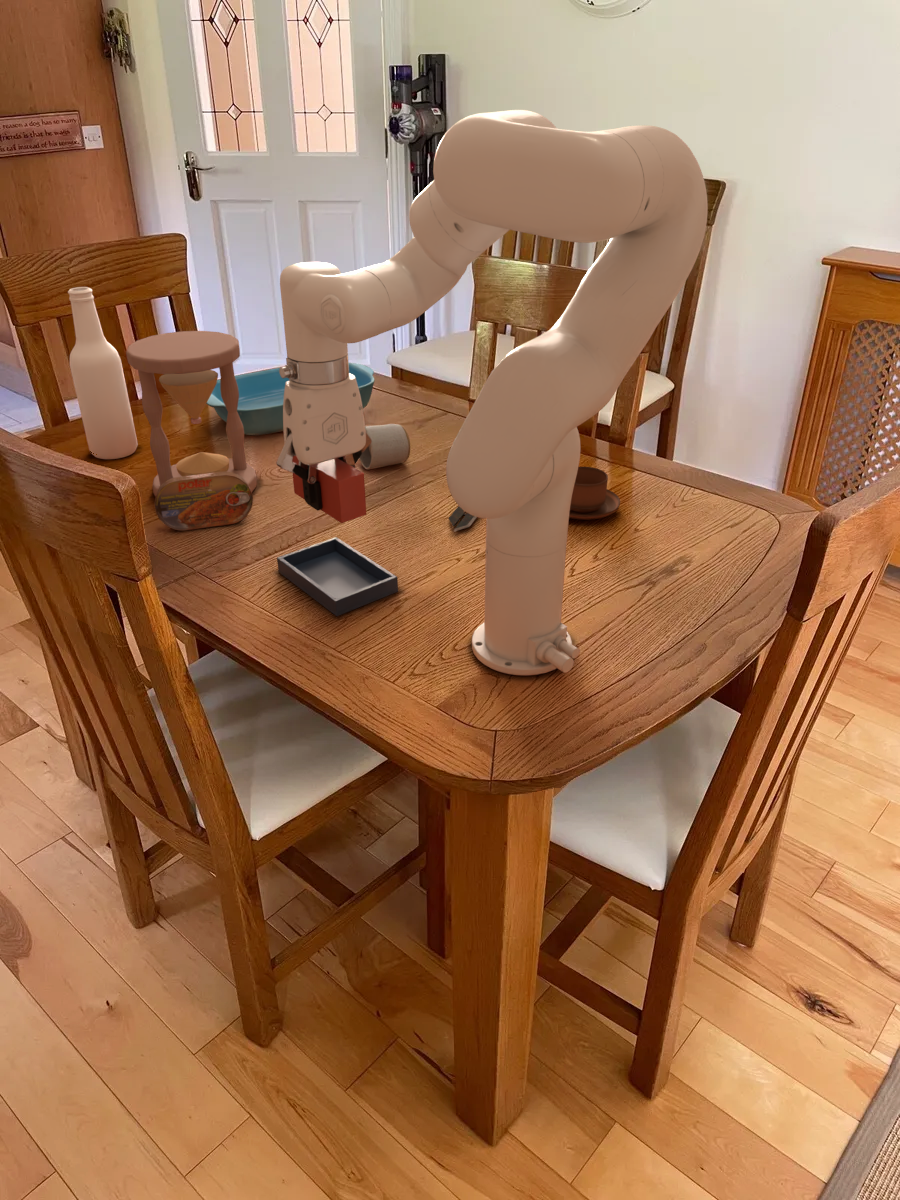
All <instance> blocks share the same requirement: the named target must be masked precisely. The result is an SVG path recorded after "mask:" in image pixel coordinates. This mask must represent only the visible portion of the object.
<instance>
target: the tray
mask: <svg viewBox="0 0 900 1200" xmlns="http://www.w3.org/2000/svg"><path fill="white" fill-rule="evenodd" d="M276 563H277V571H278V573H279V574H281V575H282V576H283V577H284V578H286V579H287V580H288V581H290V582H291V583H292V584H294V585H295V586H296V587H298V588H299V589H300V590H302V592H304V593H306V594H307V595H308V596H310V597H311V598H312V599H313V600H315V601H316V603H318V604H320V605H321V606H322V607H324V608H325V609H327V610H328V611H329V612H330V613H332V614H333V615H334V616H336V617H339V616H341V615H344V614H347V613H349V612H351V611H353V610H355V609H359V608H361V607H363V606H366V605H368V604H371V603H374V602H376V601H379V600H381V599H383V598H386V597H388V596H391V595H393V594H396V593H398V592H399V581H398V580H399V577H398V576H397V575H396V574H394V573H392V572H390V571H389V570H387V569H386V568H385V567H383V566H382V565H380V564H378V563H377V562H376V561H374V560H372V559H371V558H370V557H368V556H366V555H365V554H364V553H361V552H360V551H358V550H357V549H355V548H354V547H352V546H351V545H350V544H348V543H347V542H345V541H343V540H342V539H340V538H339V537H337V536H335V537H332V538H329V539H326V540H324V541H321V542H317V543H315V544H311V545H309V546H306V547H303V548H301V549H297V550H295V551H292V552H289V553H286V554H283V555H281V556H277V557H276Z"/></svg>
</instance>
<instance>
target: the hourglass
mask: <svg viewBox="0 0 900 1200" xmlns="http://www.w3.org/2000/svg"><path fill="white" fill-rule="evenodd" d="M240 349H241V347H240V342H239V339H238V338H236V337H235V336H233V335H232V334H228V333H224V332H220V331H210V330H183V331H174V332H164V333H159V334H155V335H149V336H147V337H144V338H140V339H138V340H135V341H134V342H132V343H131V344H129V345H128V346H127V349H126V352H125V354H126V359H127V363H128V365H130V366H131V367H132V368H133V369H134V370H136V371H137V373H138V378H139V383H140V389H141V404H142V409H143V413H144V415H145V417H146V419H147V421H148V423H149V425H150V427H151V428H150V439H149V444H150V445H149V447H150V451H151V454H152V456H153V459H154V461H155V466H156V472H157V475H156V476H155V477H154V478H153V481H152V491H153V495H154V497H156V494H157V492H158V489H159V488H160V487H161V485H162V484H163V483H165V482H166V481H167V480H169V479H172V478H175V477H182V476H190V475H199V474H207V473H214V472H223V471H227V472H232V473H235V474H237V475H239V476H241V477H242V478H243V479H244V480H245V481H246V482H247V484H248V485H249V487H250V490H251V492H252V493H253V491H254V490H255V489H256V487H257V486H258V480H257V471H256V469H255V468H254V467H253V466H252V465H251V464H250V463H248V462H247V459H246V450H245V434H244V428H243V424H242V422H241V419H240V417H239V415H238V412H237V407H238V400H239V391H238V386H237V382H236V379H235V376H236V375H235V369H234V362H235V361H236V360H238V359H239V358H240V356H241V350H240ZM215 369H219V373H218V372H217V371H215ZM155 374H159V375H161V376H159V379H158V382H159V383H160V385H161V387H162V388H163V389H164V390H165V392H166V393H167V394H168V395H169V396H170V397H171V398H172V399H173V400H174V401H175V402H176V403H177V404H178V406H180V407H181V408H182V409H183V410H184V411H185V412H186V414H187V415H188V416H189V417H190V423H191V425H199V424H201V423H202V417H201V415H202V412H203V410H204V408H205V407H206V405H207V404H206V403H207V401H208V399H209V398H210V396H211V394H212V392H213V390H214V388H215V386H216V384H217V380H219V379H218V378H219V375H220V379H221V380H220V390H221V397H222V399H223V402H224V404H225V406H226V409H227V411H228V416H227V423H225V432H226V436H227V440H228V443H229V446H230V453H231V458H228V457H227V456H226V455H223V454H219V453H212V452H204V451H199V452H197V453H194V454H191V455H188V456H186V457H184V458H181V459H180V460H179V461H178V462H177V463H175V464H173V465H171V450H170V442H169V440H168V437H167V435H166V433H165V431H164V429H163V427H162V417H163V405H162V399H161V397H160V394H159V391H158V388H157V383H156V378H155Z"/></svg>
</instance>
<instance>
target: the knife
mask: <svg viewBox="0 0 900 1200" xmlns="http://www.w3.org/2000/svg"><path fill="white" fill-rule="evenodd" d="M477 518H478V517H475V516H473V515H471V514H469V513H467V512H465V511H464V510H463V509H462V508H460V507H459V505H457V507H456V508H455V509H454V511H453V512H452V513H451V514H450V516H448V520H449V522H450V524H451V525H452V527H454V529H453V533H454V532H458V531H460V530H463V529H467V528H469V527H471V526H472V524H473V523H474V522H475V520H476V519H477Z"/></svg>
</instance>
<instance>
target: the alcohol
mask: <svg viewBox="0 0 900 1200" xmlns="http://www.w3.org/2000/svg"><path fill="white" fill-rule="evenodd" d="M67 294H68V295H69V297H68V299H69V301H70V306H71V312H72V313H71V314H72V319H73V326H74V333H75V344H74V346H73V347H72V350H71V351H70V354H69V368H70V373H71V377H72V382H73V386H74V390H75V394H76V398H77V403H78V407H79V411H80V415H81V420H82V426H83V429H84V433H85V437H86V442H87V445H88V450H89V452H90V451H91V452H92V453H91V452H90V453H91V455H92V456H94V457H95V458H96V459H101V460H115V459H116V460H117V459H122V458H125V457H128V456H131V455H132V454H134V453H136V450H137V448H138V446H139V444H138V439H137V434H136V429H135V423H134V418H133V413H132V409H131V403H130V398H129V394H128V387H127V383H126V379H125V374H124V369H123V364H122V359H121V356H120V354H119V352H118V351H117V349H116V348H115V346H113V345H112V344H111V343H110V342H109V341H107V339H106V337H105V335H104V332H103V331H104V330H103V329H102V324H101V322H100V318H99V315H98V311H97V308H96V303H95V301H94V299H95V296H94V295H93V289H92V288H91V287H88V286H77V287H72V288H69V290H68V291H67ZM93 453H94V454H93ZM96 454H97V455H96Z"/></svg>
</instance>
